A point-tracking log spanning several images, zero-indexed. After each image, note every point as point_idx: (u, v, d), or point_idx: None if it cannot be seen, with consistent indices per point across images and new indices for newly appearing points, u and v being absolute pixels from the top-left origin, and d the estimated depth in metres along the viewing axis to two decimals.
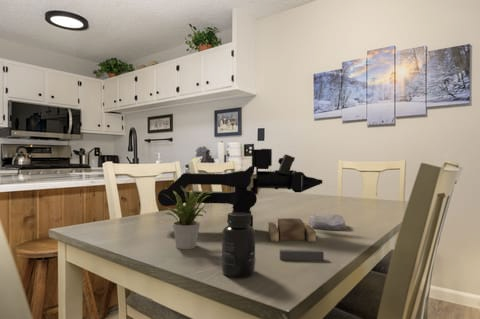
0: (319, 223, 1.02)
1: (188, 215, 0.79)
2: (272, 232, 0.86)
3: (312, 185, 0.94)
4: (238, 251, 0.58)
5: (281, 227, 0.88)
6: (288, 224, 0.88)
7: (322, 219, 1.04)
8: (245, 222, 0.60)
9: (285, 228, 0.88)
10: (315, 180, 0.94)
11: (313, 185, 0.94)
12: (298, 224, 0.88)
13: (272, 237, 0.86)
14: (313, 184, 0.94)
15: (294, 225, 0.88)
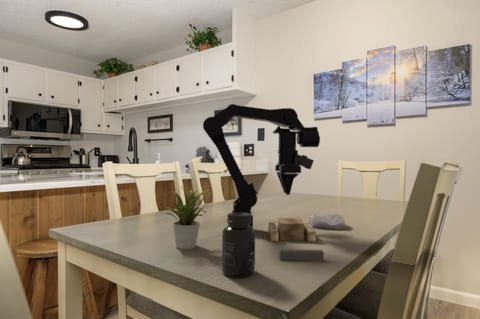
0: (319, 223, 1.02)
1: (188, 215, 0.79)
2: (272, 232, 0.86)
3: (285, 184, 0.97)
4: (238, 251, 0.58)
5: (281, 227, 0.88)
6: (288, 224, 0.88)
7: (322, 219, 1.05)
8: (245, 222, 0.60)
9: (285, 228, 0.88)
10: (289, 187, 0.97)
11: (284, 185, 0.97)
12: (298, 224, 0.88)
13: (272, 237, 0.86)
14: (285, 185, 0.97)
15: (293, 225, 0.88)
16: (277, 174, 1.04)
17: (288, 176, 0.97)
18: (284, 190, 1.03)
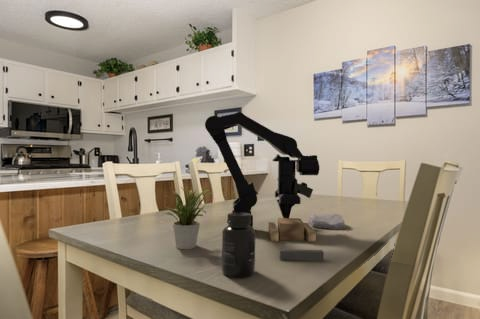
0: (319, 222, 1.03)
1: (188, 215, 0.79)
2: (272, 232, 0.86)
3: (283, 212, 0.99)
4: (238, 251, 0.58)
5: (281, 227, 0.88)
6: (288, 224, 0.88)
7: (322, 218, 1.05)
8: (245, 222, 0.60)
9: (285, 228, 0.88)
10: (288, 215, 0.99)
11: (283, 213, 0.99)
12: (298, 224, 0.88)
13: (272, 237, 0.86)
14: (283, 213, 0.99)
15: (293, 225, 0.88)
16: (277, 202, 1.02)
17: (286, 204, 0.99)
18: None
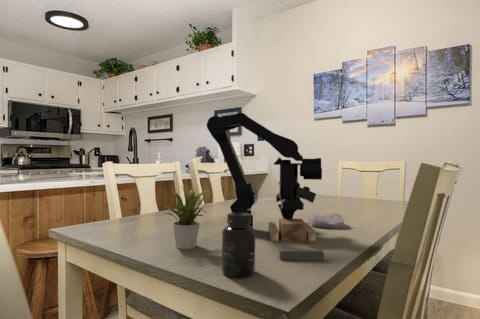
0: (318, 222, 1.04)
1: (188, 215, 0.79)
2: (272, 232, 0.86)
3: (285, 218, 0.95)
4: (238, 251, 0.58)
5: (283, 228, 0.86)
6: (290, 225, 0.86)
7: (321, 218, 1.06)
8: (245, 222, 0.60)
9: (287, 229, 0.86)
10: None
11: None
12: (300, 224, 0.87)
13: (272, 237, 0.86)
14: (285, 218, 0.95)
15: (296, 226, 0.86)
16: (279, 207, 0.98)
17: (288, 209, 0.95)
18: None
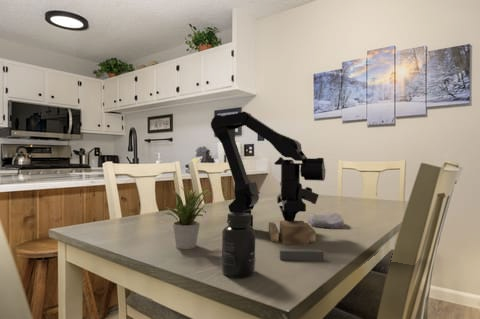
0: (318, 221, 1.04)
1: (188, 215, 0.79)
2: (272, 232, 0.86)
3: (286, 220, 0.92)
4: (238, 251, 0.58)
5: (284, 230, 0.83)
6: (291, 227, 0.83)
7: (321, 218, 1.07)
8: (245, 222, 0.60)
9: (288, 231, 0.83)
10: None
11: None
12: (302, 227, 0.83)
13: (272, 237, 0.86)
14: (287, 220, 0.92)
15: (297, 228, 0.83)
16: (280, 209, 0.94)
17: (290, 211, 0.92)
18: None
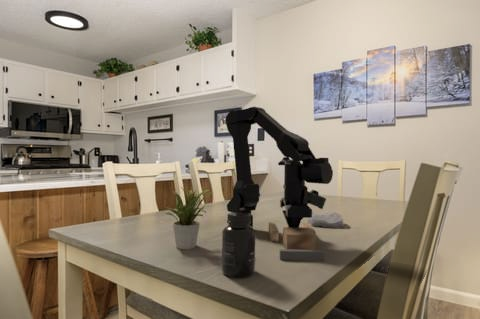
0: (318, 221, 1.05)
1: (188, 215, 0.79)
2: (272, 232, 0.86)
3: (290, 226, 0.83)
4: (238, 251, 0.58)
5: (288, 239, 0.75)
6: (296, 235, 0.75)
7: (321, 217, 1.08)
8: (245, 222, 0.60)
9: (292, 240, 0.75)
10: None
11: None
12: (308, 235, 0.75)
13: (272, 237, 0.86)
14: None
15: (303, 237, 0.75)
16: None
17: (294, 217, 0.83)
18: None
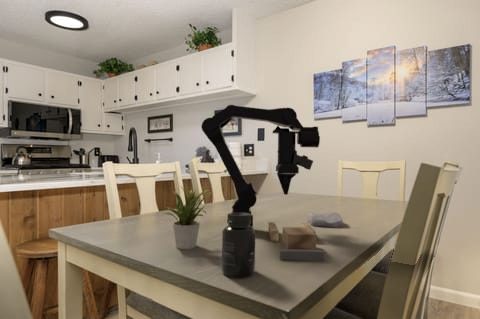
0: (318, 221, 1.06)
1: (188, 215, 0.79)
2: (272, 232, 0.86)
3: (282, 184, 0.98)
4: (238, 251, 0.58)
5: (289, 239, 0.74)
6: (297, 235, 0.75)
7: (320, 217, 1.08)
8: (245, 222, 0.60)
9: (293, 240, 0.75)
10: (287, 187, 0.98)
11: (282, 185, 0.98)
12: (308, 235, 0.75)
13: (272, 237, 0.86)
14: (283, 185, 0.98)
15: (303, 237, 0.75)
16: None
17: (286, 176, 0.98)
18: (284, 191, 0.99)
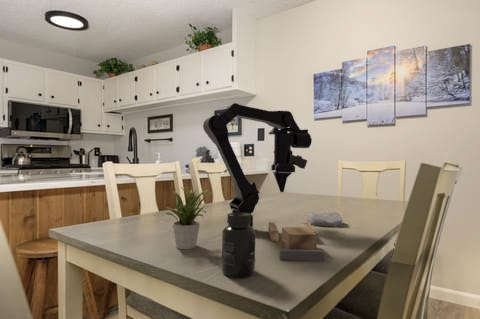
0: (318, 220, 1.06)
1: (188, 215, 0.79)
2: (272, 232, 0.86)
3: (279, 182, 1.04)
4: (238, 251, 0.58)
5: (290, 239, 0.74)
6: (298, 235, 0.74)
7: (320, 216, 1.09)
8: (245, 222, 0.60)
9: (294, 240, 0.74)
10: (283, 185, 1.04)
11: (279, 183, 1.04)
12: (309, 235, 0.75)
13: (272, 237, 0.86)
14: (279, 183, 1.04)
15: (304, 237, 0.75)
16: None
17: (282, 175, 1.04)
18: None
